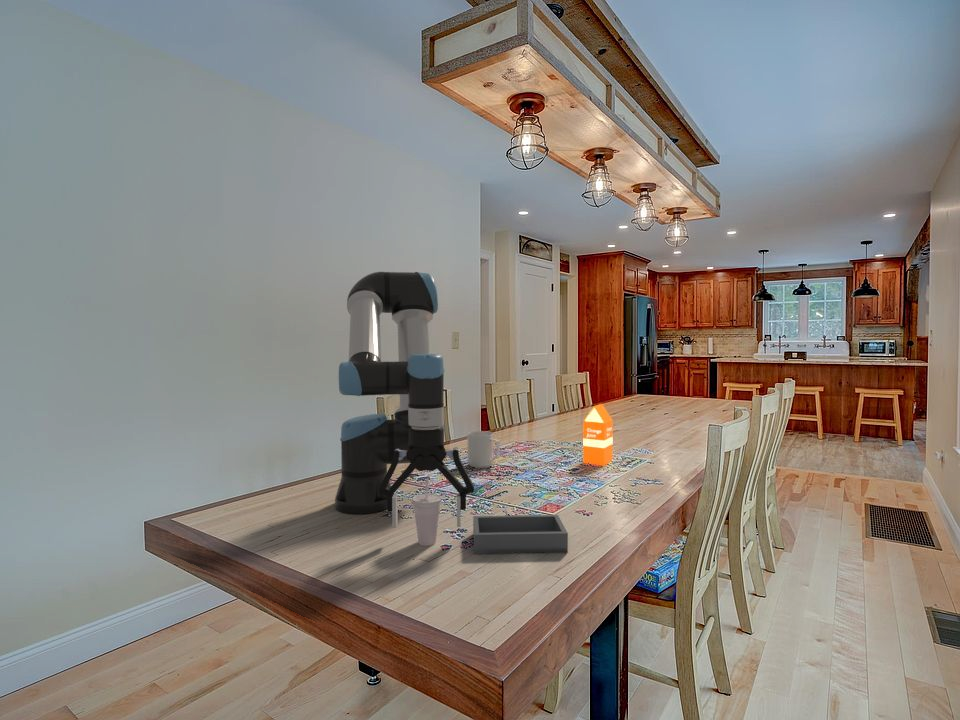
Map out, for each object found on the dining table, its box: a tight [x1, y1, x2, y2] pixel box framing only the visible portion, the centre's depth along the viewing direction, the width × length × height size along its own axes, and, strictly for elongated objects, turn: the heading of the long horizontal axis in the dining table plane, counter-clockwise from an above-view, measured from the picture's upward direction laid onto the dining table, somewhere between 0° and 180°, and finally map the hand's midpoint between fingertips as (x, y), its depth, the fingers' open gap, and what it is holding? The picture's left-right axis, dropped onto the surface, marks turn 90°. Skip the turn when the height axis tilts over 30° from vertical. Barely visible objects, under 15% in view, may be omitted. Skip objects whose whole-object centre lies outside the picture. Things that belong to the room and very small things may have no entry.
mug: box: [466, 430, 501, 469], centre depth 178 cm, size 12×9×11 cm
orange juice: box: [582, 403, 614, 467], centre depth 184 cm, size 8×9×20 cm
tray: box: [472, 514, 569, 555], centre depth 113 cm, size 11×19×4 cm, turn 92°
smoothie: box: [411, 477, 443, 547], centre depth 113 cm, size 6×6×14 cm
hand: (427, 525), depth 113 cm, fingers open, 13 cm apart
